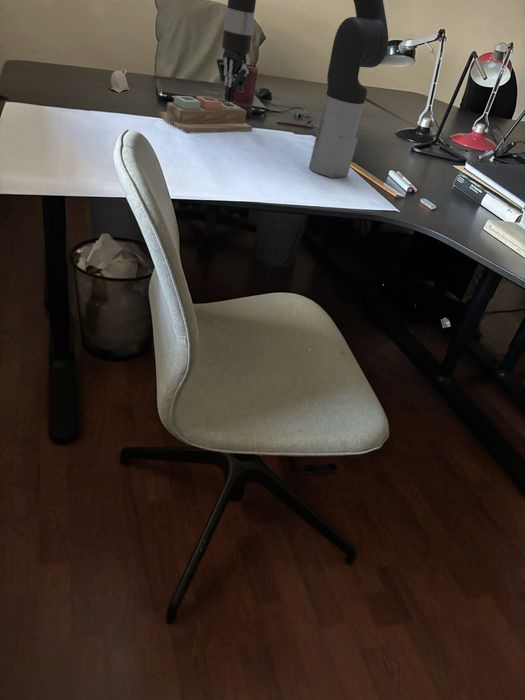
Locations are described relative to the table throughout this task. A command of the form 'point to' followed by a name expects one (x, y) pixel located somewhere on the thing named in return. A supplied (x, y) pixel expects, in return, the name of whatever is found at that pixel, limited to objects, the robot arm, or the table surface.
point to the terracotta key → (209, 103)
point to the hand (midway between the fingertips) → (228, 101)
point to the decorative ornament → (119, 81)
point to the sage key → (186, 103)
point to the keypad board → (206, 119)
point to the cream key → (229, 106)
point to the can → (246, 91)
